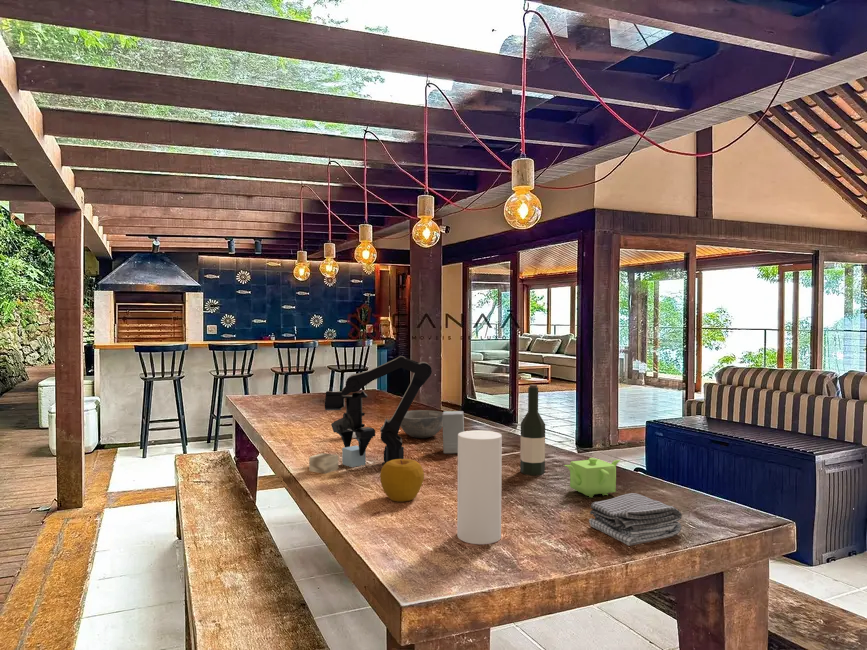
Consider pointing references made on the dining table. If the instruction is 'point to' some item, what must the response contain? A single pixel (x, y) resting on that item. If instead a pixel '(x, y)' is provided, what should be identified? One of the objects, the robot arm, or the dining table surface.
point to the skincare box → (452, 430)
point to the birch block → (323, 463)
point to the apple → (401, 479)
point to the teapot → (593, 476)
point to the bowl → (422, 423)
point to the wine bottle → (532, 437)
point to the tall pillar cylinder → (479, 486)
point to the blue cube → (353, 456)
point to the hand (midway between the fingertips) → (354, 453)
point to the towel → (635, 519)
